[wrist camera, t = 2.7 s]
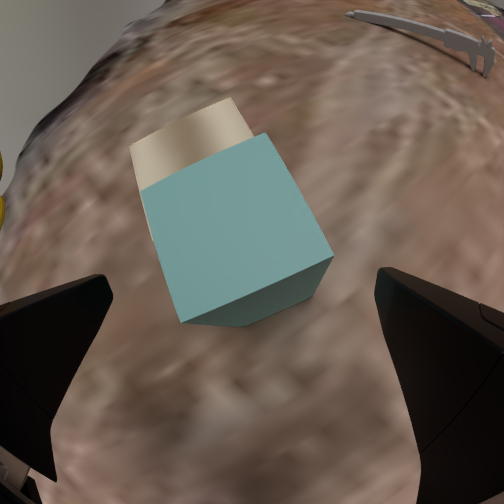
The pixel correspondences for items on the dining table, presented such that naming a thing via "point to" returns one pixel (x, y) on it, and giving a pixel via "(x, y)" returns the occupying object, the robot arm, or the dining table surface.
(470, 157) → the dining table surface
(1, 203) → the ornament
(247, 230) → the teal block
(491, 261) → the dining table surface
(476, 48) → the caliper
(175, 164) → the birch block
